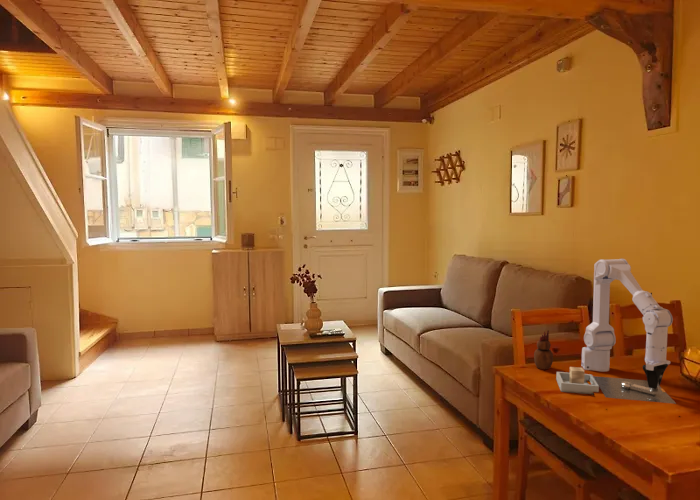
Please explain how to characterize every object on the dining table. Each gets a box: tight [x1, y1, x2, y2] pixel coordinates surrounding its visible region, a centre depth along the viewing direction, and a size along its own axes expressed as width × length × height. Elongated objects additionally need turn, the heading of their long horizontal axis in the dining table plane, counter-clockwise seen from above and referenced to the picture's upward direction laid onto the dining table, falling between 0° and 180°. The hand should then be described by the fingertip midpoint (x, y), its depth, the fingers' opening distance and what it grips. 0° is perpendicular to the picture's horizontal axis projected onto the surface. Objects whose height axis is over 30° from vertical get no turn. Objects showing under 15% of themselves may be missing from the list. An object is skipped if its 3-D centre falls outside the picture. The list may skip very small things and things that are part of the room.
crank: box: [621, 375, 663, 395], centre depth 158 cm, size 12×4×7 cm, turn 39°
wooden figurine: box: [533, 330, 554, 370], centre depth 184 cm, size 7×6×15 cm
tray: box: [555, 371, 600, 395], centre depth 165 cm, size 12×12×3 cm
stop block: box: [569, 366, 586, 384], centre depth 164 cm, size 4×4×6 cm
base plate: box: [592, 375, 677, 405], centre depth 160 cm, size 20×20×1 cm
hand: (654, 386), depth 155 cm, fingers open, 4 cm apart
